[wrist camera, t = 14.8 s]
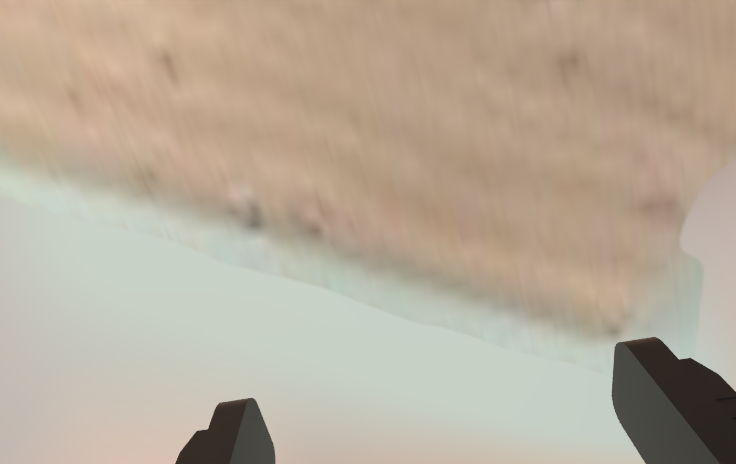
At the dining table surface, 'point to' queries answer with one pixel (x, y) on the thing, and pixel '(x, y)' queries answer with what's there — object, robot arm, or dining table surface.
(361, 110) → the dining table surface
